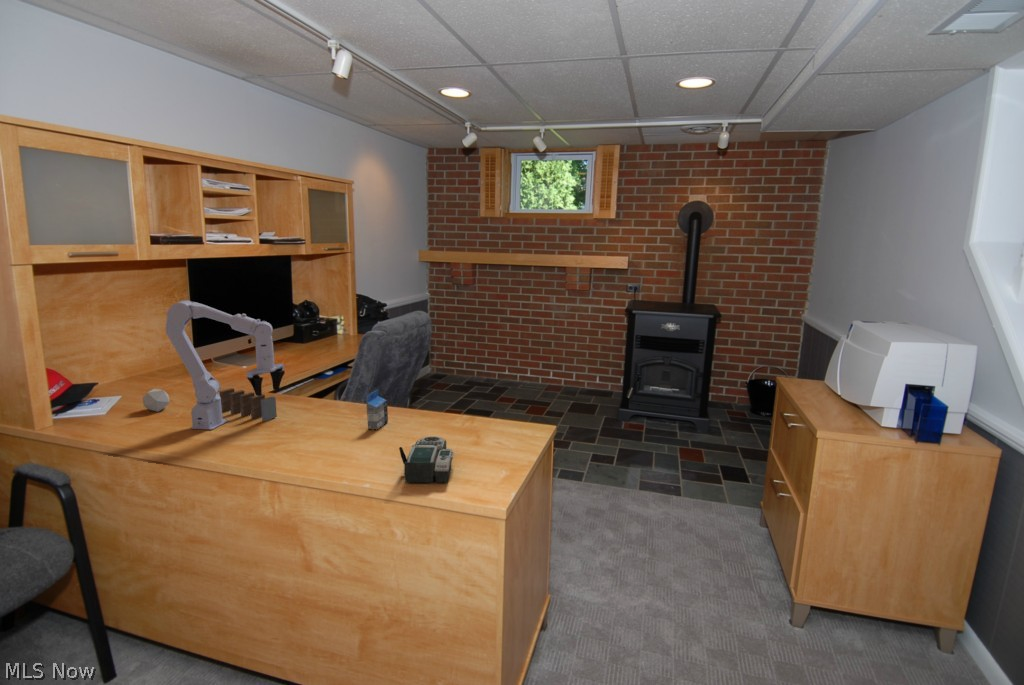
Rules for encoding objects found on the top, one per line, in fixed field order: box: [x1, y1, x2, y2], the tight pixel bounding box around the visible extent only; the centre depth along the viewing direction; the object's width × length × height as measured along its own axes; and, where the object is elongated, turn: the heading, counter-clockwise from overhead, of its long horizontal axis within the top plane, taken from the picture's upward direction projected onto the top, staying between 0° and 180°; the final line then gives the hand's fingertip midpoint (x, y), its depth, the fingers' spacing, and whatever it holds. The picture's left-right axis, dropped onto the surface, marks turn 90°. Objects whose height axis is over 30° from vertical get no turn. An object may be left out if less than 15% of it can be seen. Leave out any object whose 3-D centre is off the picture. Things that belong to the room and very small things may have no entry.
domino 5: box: [261, 395, 278, 422], centre depth 192 cm, size 2×5×8 cm, turn 155°
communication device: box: [398, 436, 455, 484], centre depth 157 cm, size 14×28×10 cm, turn 2°
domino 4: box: [250, 394, 266, 420], centre depth 194 cm, size 2×5×8 cm, turn 155°
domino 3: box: [240, 391, 256, 418], centre depth 197 cm, size 2×5×8 cm, turn 155°
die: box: [142, 388, 171, 412], centre depth 200 cm, size 8×9×10 cm
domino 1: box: [218, 387, 235, 413], centre depth 201 cm, size 2×5×8 cm, turn 155°
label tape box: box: [365, 389, 389, 430], centre depth 187 cm, size 9×4×12 cm, turn 168°
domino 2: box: [229, 389, 245, 415], centre depth 199 cm, size 2×5×8 cm, turn 155°
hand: (267, 392), depth 191 cm, fingers open, 7 cm apart
